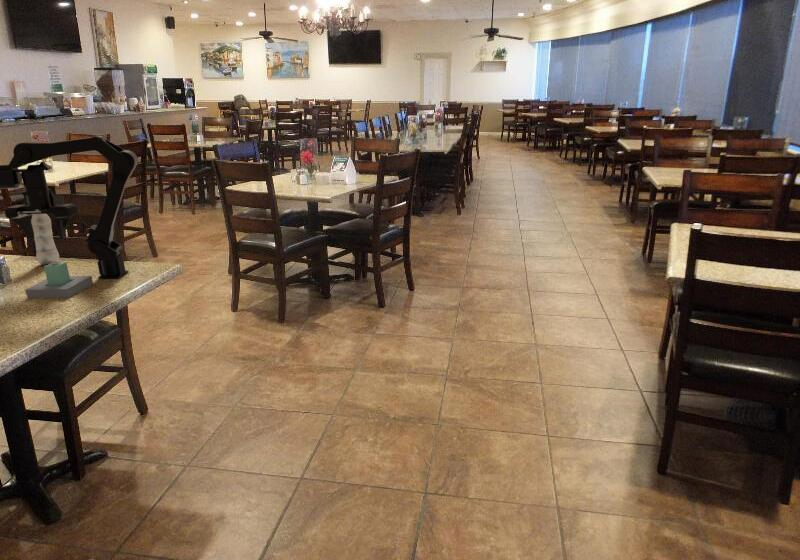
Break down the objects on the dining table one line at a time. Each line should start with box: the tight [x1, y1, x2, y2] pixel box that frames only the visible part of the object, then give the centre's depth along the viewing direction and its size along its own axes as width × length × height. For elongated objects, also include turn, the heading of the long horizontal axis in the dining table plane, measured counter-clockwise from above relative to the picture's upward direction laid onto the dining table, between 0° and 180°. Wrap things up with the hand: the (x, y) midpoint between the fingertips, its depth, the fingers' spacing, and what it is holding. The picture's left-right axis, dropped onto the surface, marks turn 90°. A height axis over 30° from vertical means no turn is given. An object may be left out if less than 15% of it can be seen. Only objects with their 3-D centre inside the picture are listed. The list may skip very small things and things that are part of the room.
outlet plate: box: [25, 275, 94, 299], centre depth 166 cm, size 12×12×2 cm
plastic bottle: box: [30, 210, 60, 266], centre depth 191 cm, size 6×7×20 cm
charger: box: [43, 260, 71, 286], centre depth 165 cm, size 4×4×9 cm
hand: (47, 239), depth 171 cm, fingers open, 9 cm apart
